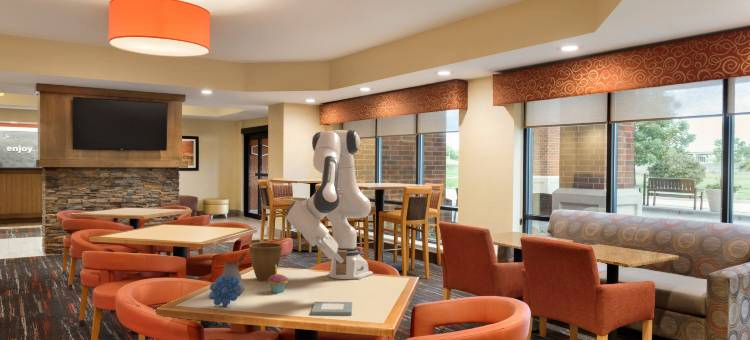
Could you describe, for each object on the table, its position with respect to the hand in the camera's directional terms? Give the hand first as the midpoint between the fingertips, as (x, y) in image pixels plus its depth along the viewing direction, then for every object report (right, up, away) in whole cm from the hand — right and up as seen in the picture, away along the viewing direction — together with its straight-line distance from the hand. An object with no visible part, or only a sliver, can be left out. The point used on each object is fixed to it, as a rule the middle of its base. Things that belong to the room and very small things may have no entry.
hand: (342, 260), depth 213 cm
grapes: (-43, -15, -11) cm, 47 cm away
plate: (-3, -15, -15) cm, 22 cm away
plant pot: (-38, -15, +35) cm, 54 cm away
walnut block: (-1, -5, 0) cm, 5 cm away
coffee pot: (-45, -15, +10) cm, 49 cm away
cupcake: (-28, -15, +12) cm, 34 cm away
